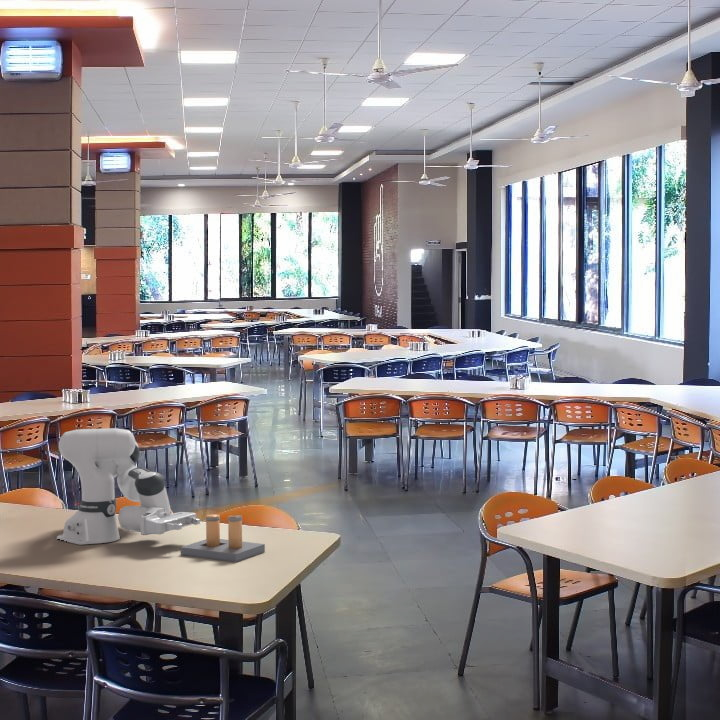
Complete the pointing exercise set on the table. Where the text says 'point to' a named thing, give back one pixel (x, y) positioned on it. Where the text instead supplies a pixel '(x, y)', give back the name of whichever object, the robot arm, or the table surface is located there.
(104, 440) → the robot arm
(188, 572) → the table surface
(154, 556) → the table surface
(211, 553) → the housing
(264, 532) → the table surface
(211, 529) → the orange banded cylinder
